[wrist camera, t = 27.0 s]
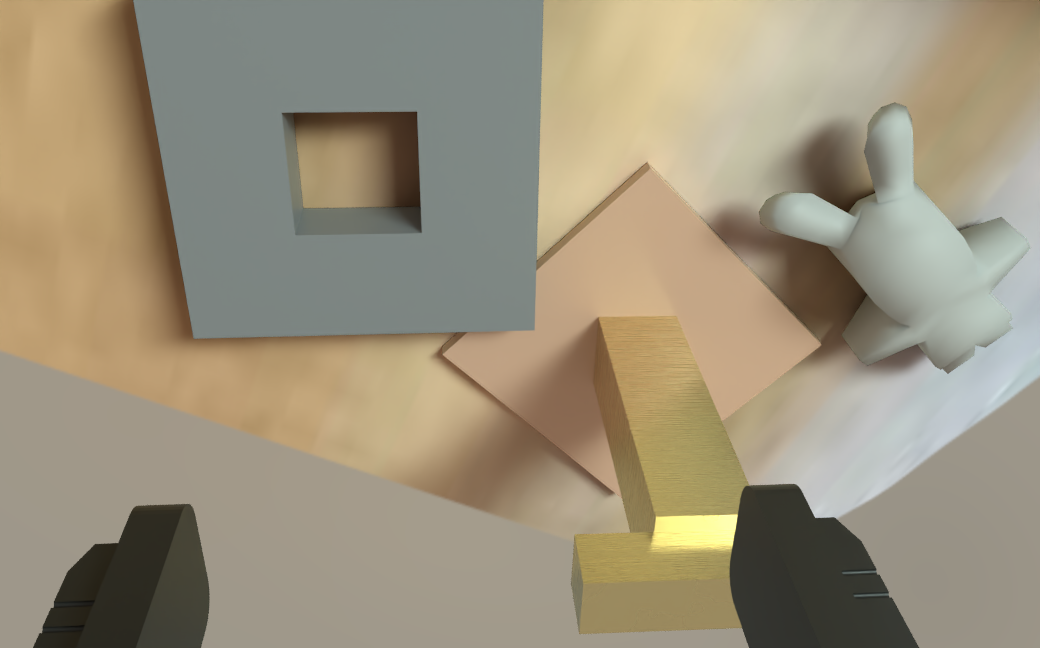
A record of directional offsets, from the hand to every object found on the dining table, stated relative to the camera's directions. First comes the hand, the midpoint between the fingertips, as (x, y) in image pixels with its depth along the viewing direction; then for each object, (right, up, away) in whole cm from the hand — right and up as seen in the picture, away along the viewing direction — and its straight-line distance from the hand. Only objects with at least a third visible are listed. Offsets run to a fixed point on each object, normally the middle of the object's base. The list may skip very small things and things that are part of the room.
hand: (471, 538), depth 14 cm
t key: (+7, +2, +36) cm, 36 cm away
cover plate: (-7, +11, +30) cm, 33 cm away
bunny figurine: (+19, +8, +35) cm, 40 cm away
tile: (+7, +2, +36) cm, 37 cm away
